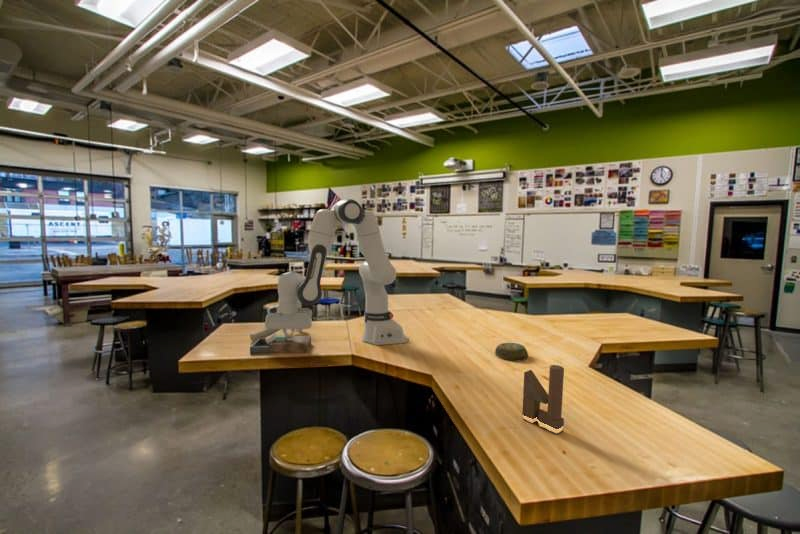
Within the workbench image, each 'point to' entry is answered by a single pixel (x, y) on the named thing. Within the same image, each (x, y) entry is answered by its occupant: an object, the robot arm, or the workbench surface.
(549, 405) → the brown letter n
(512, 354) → the weight
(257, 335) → the hammer
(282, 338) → the tile
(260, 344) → the tray
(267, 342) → the tile
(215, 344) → the workbench surface
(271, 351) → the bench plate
